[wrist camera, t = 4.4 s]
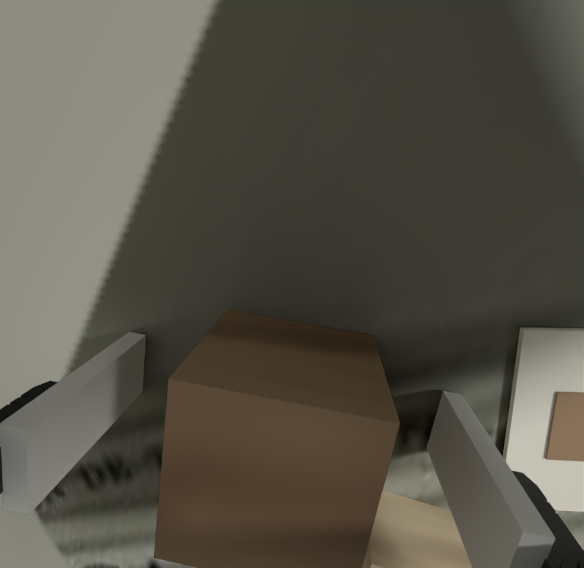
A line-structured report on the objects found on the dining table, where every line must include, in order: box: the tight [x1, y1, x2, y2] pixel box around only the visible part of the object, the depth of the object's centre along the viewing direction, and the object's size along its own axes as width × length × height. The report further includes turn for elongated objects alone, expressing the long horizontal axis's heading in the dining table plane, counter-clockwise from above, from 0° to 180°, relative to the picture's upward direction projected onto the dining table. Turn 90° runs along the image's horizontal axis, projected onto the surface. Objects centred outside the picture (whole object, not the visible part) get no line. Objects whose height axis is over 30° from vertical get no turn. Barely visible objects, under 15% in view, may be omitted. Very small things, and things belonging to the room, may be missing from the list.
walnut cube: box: [154, 309, 400, 568], centre depth 13 cm, size 6×6×6 cm
